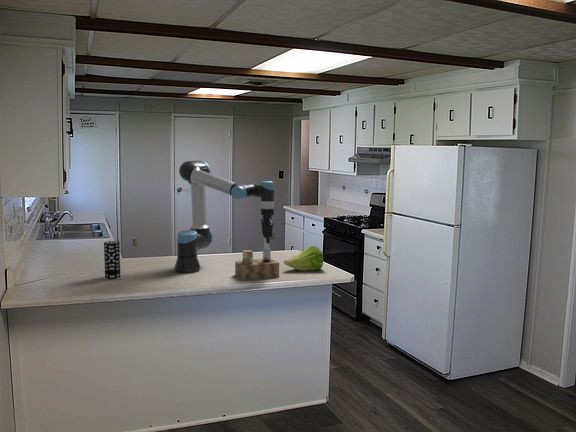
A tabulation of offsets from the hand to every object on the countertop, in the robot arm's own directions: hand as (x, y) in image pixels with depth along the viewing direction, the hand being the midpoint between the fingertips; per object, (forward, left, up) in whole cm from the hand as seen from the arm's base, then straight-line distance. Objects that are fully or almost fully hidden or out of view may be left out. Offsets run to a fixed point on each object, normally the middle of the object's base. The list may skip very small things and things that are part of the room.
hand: (266, 248), depth 311 cm
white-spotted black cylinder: (-82, +28, -16) cm, 88 cm away
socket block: (-6, 0, -16) cm, 17 cm away
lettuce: (+25, +2, -16) cm, 30 cm away
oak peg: (-12, 0, -9) cm, 15 cm away
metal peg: (0, 0, -9) cm, 9 cm away
